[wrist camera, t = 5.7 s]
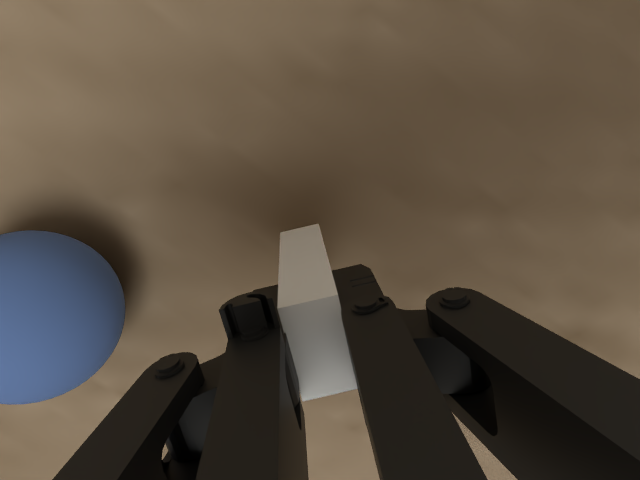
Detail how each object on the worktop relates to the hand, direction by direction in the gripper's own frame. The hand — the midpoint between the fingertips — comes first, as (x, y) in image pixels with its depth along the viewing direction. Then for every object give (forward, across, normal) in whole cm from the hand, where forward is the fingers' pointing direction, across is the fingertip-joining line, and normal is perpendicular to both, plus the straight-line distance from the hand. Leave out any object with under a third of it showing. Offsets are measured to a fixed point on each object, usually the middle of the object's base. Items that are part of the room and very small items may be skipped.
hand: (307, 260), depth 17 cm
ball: (-1, +10, -1) cm, 10 cm away
